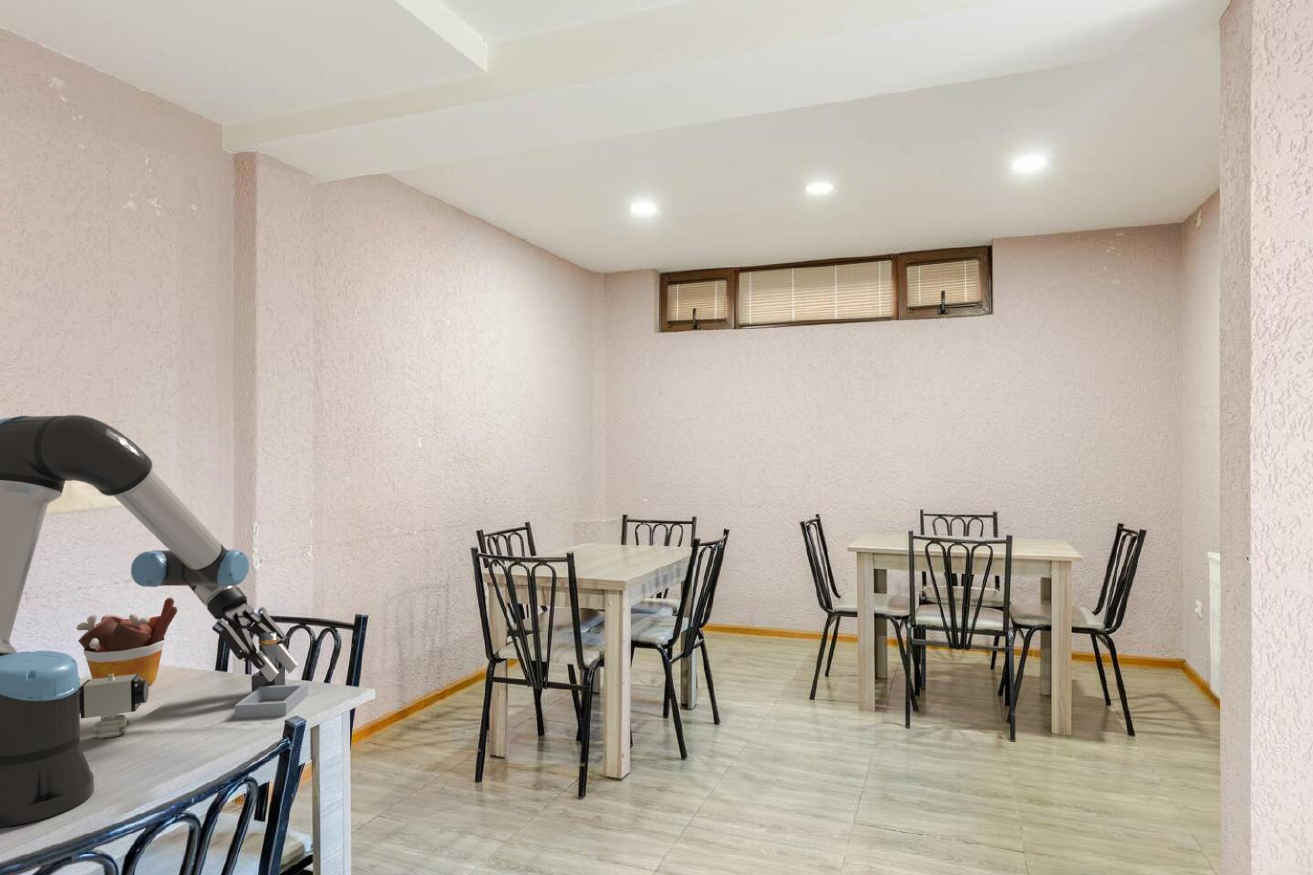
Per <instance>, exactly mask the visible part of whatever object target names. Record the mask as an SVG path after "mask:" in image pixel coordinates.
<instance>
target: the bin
mask: <svg viewBox="0 0 1313 875" xmlns="http://www.w3.org/2000/svg"><path fill="white" fill-rule="evenodd" d="M308 696H309V686H308V684H307V683H306V684H304V683H303V684H302V683H301V684H285V685H280V686H260V687H259V688H257V689H256V690H255V691H253V692H252V691H251V693H250V694H248V695H247V696H245V697H244V698H242V699H241V700H240V701H239V702H237V703H236V704H234V719H243V718H244V719H245V718H247V719H248V718H261V717H262V718H263V717H264V718H265V717H281V716H282V717H283V716H287V715H289V714H290V712H292V711H293V710H294V709H295V708H296V707H297V706H298V705H300V703H301V702H303V701H304V700H305V699H306V698H307V697H308ZM278 699H279V700H281V699H284V700H283V701H271V702H270V701H267V702H265V701H264V702H262V701H263V700H278ZM267 724H271V722H269V723H263V725H267ZM244 725H245V726H246V725H247V726H248V725H249V726H250V725H251V723H249V724H247V723H246V724H244Z"/></svg>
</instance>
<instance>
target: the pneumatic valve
mask: <svg viewBox="0 0 1313 875" xmlns="http://www.w3.org/2000/svg"><path fill="white" fill-rule="evenodd" d="M149 686H150V685H148V681H147V680H143V681H142V678H140V674H133V675H125V676H116V677H114V674H108V677H107V678H99V679H92V678H91V679H86V680H85V681H84V682H83V683H82V684H80V720H81V719H88V718H89V719H90V718H97V717H100V721H96V722H95V724H94V727H93V728H94V729H93V733H94V735H95V736H97V739H100V740H101V739H103V740H104V739H108V738H116V737H120V736H122V735H123V732H124V730H125V729H126V728H128V727H129V726H130V719H129V717H126V715H125V714H127V713H134V712H136V711H137V710H138V709H139V707H140V706H141V704H145V703H147V702H148V700H149V699H148V698H149V692H150V690H149V688H150V687H149Z"/></svg>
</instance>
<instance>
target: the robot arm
mask: <svg viewBox="0 0 1313 875" xmlns="http://www.w3.org/2000/svg"><path fill="white" fill-rule="evenodd" d="M153 468H154V464H153V461H152V459H151V458H150V457H149V456H148V455H147V454H146V453H145V451H143V450H142V449H141V448H140V447H139V446H138V445H137V444H136V443H135V442H134V441H132V440H131V439H130V438H129V437H127V436H126V435H125V434H124V433H122V432H120V431H118V430H117V429H115V428H114V427H112V426H110V425H109V424H108V423H105V422H103V421H101V420H98V419H96V418H93V417H89V416H85V415H81V414H78V415H77V414H70V415H69V414H68V415H67V414H66V415H44V416H43V415H42V416H41V415H39V416H32V415H18V416H13V417H7V418H0V828H4V827H12V826H11V825H14V826H19V825H24V823H25V824H28V823H32V822H37V821H41V820H43V819H44V820H45V819H48V818H49V817H53V816H56V815H59V814H61V813H64V812H66V811H69V810H72V809H73V808H76V807H77V806H79V805H80V804H82V803H84V802H85V801H86V800H88V799H89V798H90V797H91V796H92V795H93V794H94V792H95V777H94V774H93V772H92V771H91V768H90V766H89V763H88V761H87V759H86V756H85V754H84V751H83V750H82V748H81V734H80V730H81V729H80V728H81V726H80V724H81V723H80V722H81V721H80V720H81V714H80V686H81V678H80V676H79V668H78V663H77V661H76V659H75V658H74V657H73V656H72V655H70V654H67V653H64V652H60V651H52V650H37V651H29V650H27V651H19V652H18V651H17V650H16V649H15V647H13V645H12V644H11V642H10V640H11V635H12V632H13V628H14V624H15V621H16V617H17V614H18V610H19V607H20V604H21V600H22V597H23V593H24V590H25V585H26V582H27V578H28V575H29V572H30V568H31V566H32V561H33V557H34V555H35V551H36V549H37V548H36V547H37V544H38V540H39V538H40V533H41V530H42V526H43V522H44V519H45V516H46V513H47V509H48V505H49V504H50V503H51V502H53V501H55V500H57V499H59V498H60V497H62V494H63V491H64V487H65V484H66V482H68V481H69V482H70V481H71V482H72V481H77V482H81V483H85V484H88V485H90V486H93V487H94V488H95V489H96V490H97V491H98V492H99V493H100V494H102V495H104V496H107V497H114V498H115V499H116V500H117V502H119V503H120V504H121V505H122V506H123V507H124V508H125V509H126V510H128V511H129V512H130V514H132V515H133V516H134V518H136V520H138V521H139V522H140V523H141V524H142V525H143V526H144V527H145V528H146V529H147V530H148V531H149V532H150V533H151V534H152V535H153V536H155V537H156V539H158V540H159V541H160V542H161V543H162V544H163V546H165V547H166V548H167V550H164V549H163V550H157V549H156V550H155V549H153V550H150V551H144V552H141V553H139V554H138V555H137V556H136V557H135V558H134V559H133V561H132V563H131V566H130V574H131V575H130V576H131V578H132V580H133V581H134V582H135V583H136V584H137V585H138V586H141V587H150V588H153V587H154V588H157V587H160V586H161V587H162V586H165V587H166V586H167V587H169V586H170V587H171V586H172V587H173V586H178V587H179V586H180V587H182V586H184V587H185V586H187V587H189V588H190V590H191V591H192V593H194V594H195V595H196V596H197V598H198V599H199V600H200V602H201V603H202V604H203V605H204V606H205V607H206V610H207V611H208V612H209V613H210V614H211V616H212V617H213V618H214V619H215V620H217V621H216V622H215V624H214V625H212V627H211V628H212V631H214V632H215V633H216V634H218V635H219V637H221V639H222V640H223V641H224V643H225V644H226V646H228V648H229V649H230V651H231V652H232V653H233V654H234V655H235V657H236V658H237V660H240V661H241V660H243V661H244V662H246V663H248V662H251V663H252V665H253V666H254V667H255V668H256V669H257V670H258V671H259V670H260V671H261V672H262V673H263V675H264V676H265V677H266V678H267V679H268V681H269V682H270V681H272V680H273V679H274V678H275V677H276V676H277V674H278V673H279V672H278V671H277V669H278V668H277V669H276V668H275V667H274V666H273V664H272V663H271V662H270V661H269V660H268V658H267V657H266V656H265V655H264V653H263V652H262V651H259V650H257V648H256V646H255V643H254V642H253V641H254V640H252V638H251V635H250V633H253V635H255V636H256V637H258V638H259V634H261V633H266V632H277V661H278V662H279V663H280V664H281V666H283V668H285V671H287V673H288V674H292V673H293V671H294V670H295V669H296V668H297V667H298V666H299V663H298V662H297V661H296V660H295V658H294V657H293V656H292V655H291V651H289V649H288V648H287V647H286V645H285V644H284V642H285V641H286V640H287V639H288V637H287V635H286V634H285V632H284V631H283V630H282V629H281V628H280V627H279V626H278V625H277V624H276V622H275V621H274V620H273V619H272V618H271V616H270V615H269V613H268V611H267V610H266V608H265V607H263V606H262V607H261V606H260V608H259V609H255V608H253V607H252V606H250V604H248V598H247V596H246V595H245V593H244V592H243V591H242V590H241V588H240V587H238V585H239V584H241V583H242V582H244V580H245V579H246V578H247V575H248V573H249V569H250V561H249V557H248V555H246V553H245V552H244V551H241V550H235V549H227V548H225V547H224V545H223V544H221V542H220V541H219V540H218V538H216V537H215V536H214V535H213V534H212V533H211V532H210V530H209V529H207V527H206V526H205V525H204V524H203V523H202V522H201V520H199V519H198V518H197V517H196V515H195V514H194V513H193V512H192V511H191V510H190V509H189V508H188V507H187V506H186V505H185V504H184V502H182V500H181V499H180V498H179V497H178V496H177V495H176V493H174V491H172V489H171V488H170V487H169V486H168V485H166V483H165V482H164V481H163V479H161V478H160V477H159V475H158V474H156V472H155V471H154V469H153Z"/></svg>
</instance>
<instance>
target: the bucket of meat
mask: <svg viewBox="0 0 1313 875" xmlns="http://www.w3.org/2000/svg"><path fill="white" fill-rule="evenodd" d="M174 604H175V600H174V598H173V597H167V598H166V599H165V600H164V603H163V605H162V606H163V607H162V609H161V613H160V615H159V616H152V617H150V618H148V617H147V616H143V617H141V618H140V617H139V615H138V614H136V613H132V614H131V613H130V615H128V616H129V617H128V618H125V617H122V616H118V615H113V614H109V615H107V614H106V615H104V616H102V617H101V620H100V622H98V623H97V619H98V615H97V614H92V615H90V616H88V618H86V620H87V621H86V622H84V621H83V622H80V623H79V624H78V625H77V626H76V630H77V631H86V632H85V633H84V634H83V635H82V636H81V637H80V638H79V639H78V643H79V644H80V645H81V646H82V648H83V650H82V651H83V654H84V657H85V660H86V662H87V666H88V669H89V674H90V675H91V679H99V678H107V677H108V674H114V677H116V676H125V675H133V674H140V678H142V681H143V680H147V681H148V685H149V686H151V685H152V684H153V683H154V682H155V681H156V680H157V675H158V671H159V667H160V662H161V658H162V653H163V648H164V645H165V640H166V639H165V636H166V633H167V632H168V628H169V626H170V625H171V622H172V621H173V620H174V617H175V616H176V614H177V613H178V607H176V606H175V605H174Z"/></svg>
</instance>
